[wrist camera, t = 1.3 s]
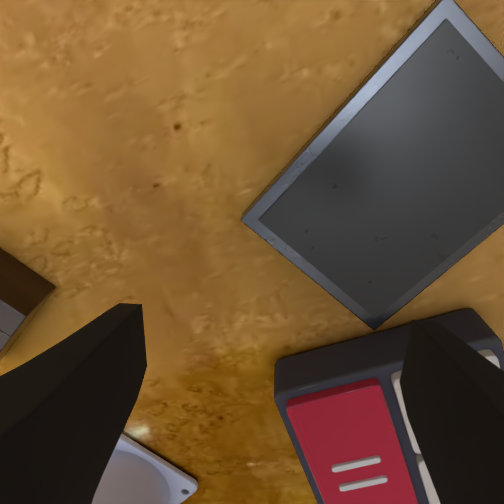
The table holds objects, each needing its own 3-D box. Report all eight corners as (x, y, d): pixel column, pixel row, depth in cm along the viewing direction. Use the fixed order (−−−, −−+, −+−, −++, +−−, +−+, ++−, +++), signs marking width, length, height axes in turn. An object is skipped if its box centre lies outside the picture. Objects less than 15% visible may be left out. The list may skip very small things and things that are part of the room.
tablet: (370, 321, 23) (374, 332, 22) (241, 214, 21) (239, 221, 20) (575, 149, 19) (591, 154, 18) (439, -4, 17) (449, -8, 16)
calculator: (510, 344, 19) (553, 570, 23) (469, 299, 23) (512, 500, 27) (270, 405, 21) (354, 603, 25) (272, 353, 25) (344, 532, 29)
